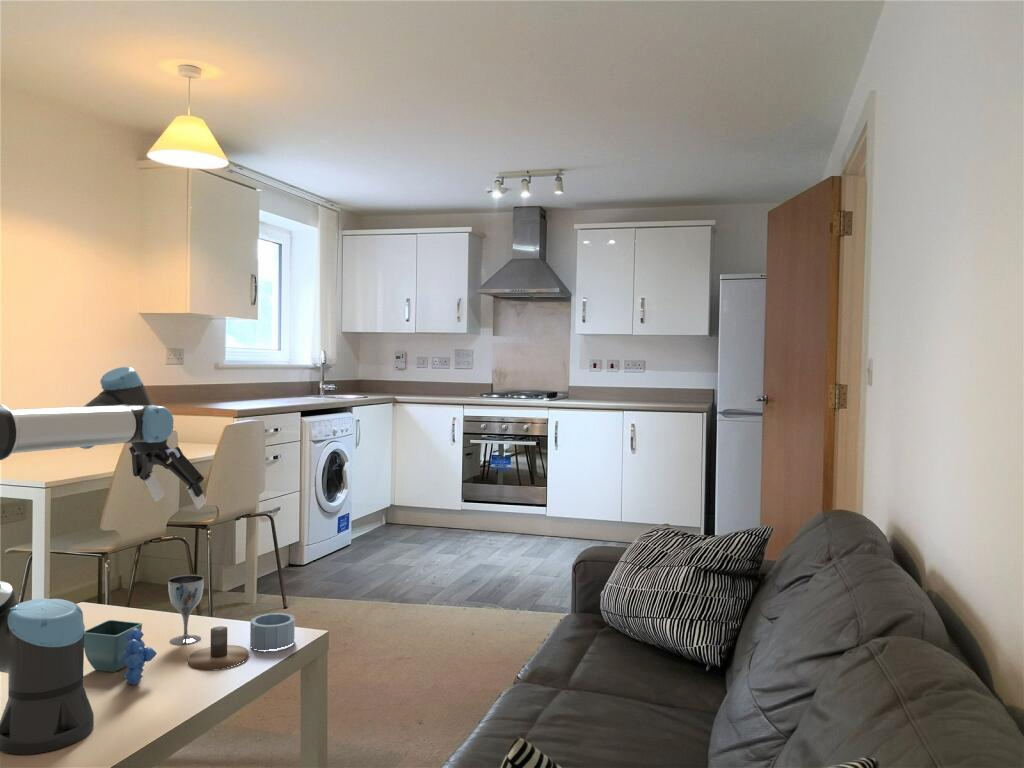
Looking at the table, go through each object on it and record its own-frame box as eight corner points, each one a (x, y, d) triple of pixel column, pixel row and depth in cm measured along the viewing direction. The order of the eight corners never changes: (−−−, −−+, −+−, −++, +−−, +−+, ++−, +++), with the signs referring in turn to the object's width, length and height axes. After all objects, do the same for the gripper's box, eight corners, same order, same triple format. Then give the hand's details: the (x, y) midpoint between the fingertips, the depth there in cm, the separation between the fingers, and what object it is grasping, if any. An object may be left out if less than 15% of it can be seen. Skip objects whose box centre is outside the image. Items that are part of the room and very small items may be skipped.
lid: (244, 669, 175) (244, 636, 175) (182, 672, 173) (182, 640, 172) (252, 648, 188) (252, 618, 188) (194, 651, 185) (194, 621, 185)
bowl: (292, 650, 186) (292, 625, 186) (248, 652, 184) (248, 627, 184) (295, 636, 196) (296, 612, 196) (253, 638, 194) (253, 614, 194)
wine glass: (197, 632, 198) (198, 572, 197) (207, 641, 191) (207, 580, 191) (164, 638, 193) (164, 577, 192) (172, 648, 186) (173, 585, 186)
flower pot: (116, 677, 169) (116, 635, 169) (80, 673, 171) (80, 632, 170) (143, 662, 177) (143, 622, 177) (108, 658, 179) (109, 619, 179)
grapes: (155, 692, 162) (155, 633, 161) (118, 696, 159) (118, 637, 159) (157, 671, 172) (158, 616, 172) (123, 675, 170) (123, 619, 170)
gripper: (197, 425, 177) (230, 498, 188) (118, 416, 187) (153, 485, 198) (174, 445, 171) (209, 519, 182) (93, 434, 181) (131, 505, 192)
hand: (180, 501), depth 190 cm, fingers open, 13 cm apart
